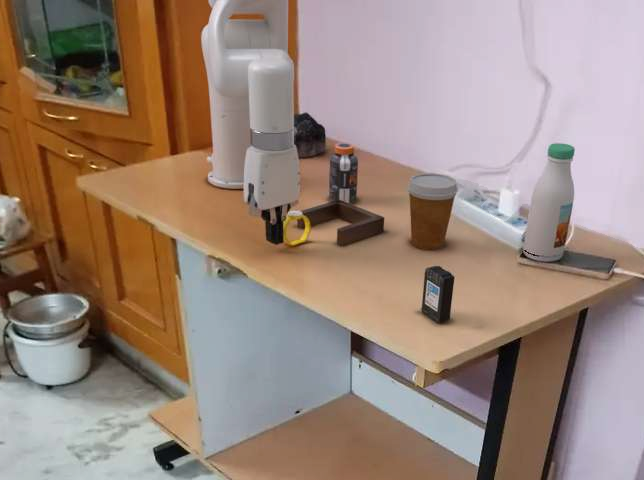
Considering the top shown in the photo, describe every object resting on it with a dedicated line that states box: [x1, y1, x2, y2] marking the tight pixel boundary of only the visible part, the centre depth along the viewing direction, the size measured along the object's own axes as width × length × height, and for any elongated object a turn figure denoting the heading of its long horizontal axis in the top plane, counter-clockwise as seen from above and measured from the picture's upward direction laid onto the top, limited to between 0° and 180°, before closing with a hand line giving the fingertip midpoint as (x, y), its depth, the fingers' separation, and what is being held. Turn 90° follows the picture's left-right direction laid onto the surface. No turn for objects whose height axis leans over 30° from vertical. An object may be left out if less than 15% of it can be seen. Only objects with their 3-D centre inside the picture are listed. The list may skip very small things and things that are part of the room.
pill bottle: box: [328, 142, 359, 204], centre depth 178 cm, size 6×6×11 cm
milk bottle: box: [522, 142, 576, 263], centre depth 156 cm, size 8×8×20 cm
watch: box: [283, 210, 312, 247], centre depth 159 cm, size 6×3×6 cm, turn 128°
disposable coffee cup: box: [406, 172, 459, 250], centre depth 160 cm, size 10×10×12 cm
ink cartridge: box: [420, 265, 456, 324], centre depth 137 cm, size 5×2×8 cm, turn 32°
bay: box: [296, 200, 385, 247], centre depth 167 cm, size 13×12×3 cm
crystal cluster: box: [294, 111, 327, 158], centre depth 205 cm, size 13×14×10 cm
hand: (274, 241), depth 157 cm, fingers closed
